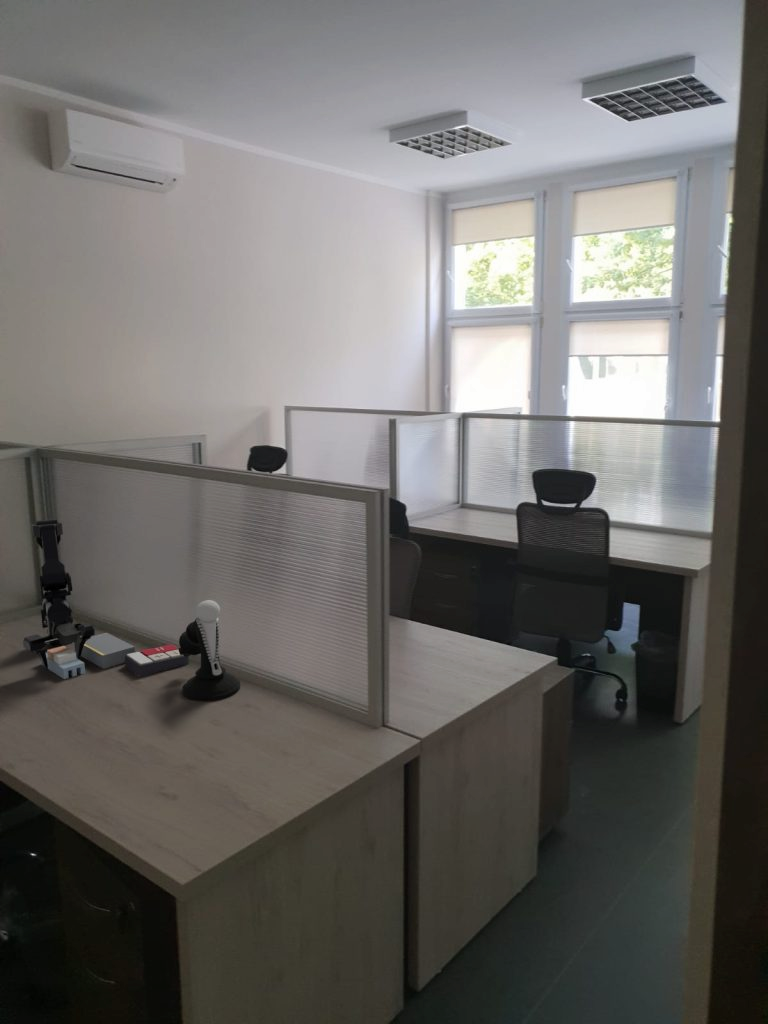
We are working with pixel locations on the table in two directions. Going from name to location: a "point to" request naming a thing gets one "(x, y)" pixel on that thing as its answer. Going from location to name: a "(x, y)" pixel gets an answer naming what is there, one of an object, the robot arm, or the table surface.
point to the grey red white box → (155, 660)
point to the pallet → (66, 667)
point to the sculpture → (206, 657)
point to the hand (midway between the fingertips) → (62, 664)
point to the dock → (106, 650)
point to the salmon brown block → (55, 651)
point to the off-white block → (64, 656)
